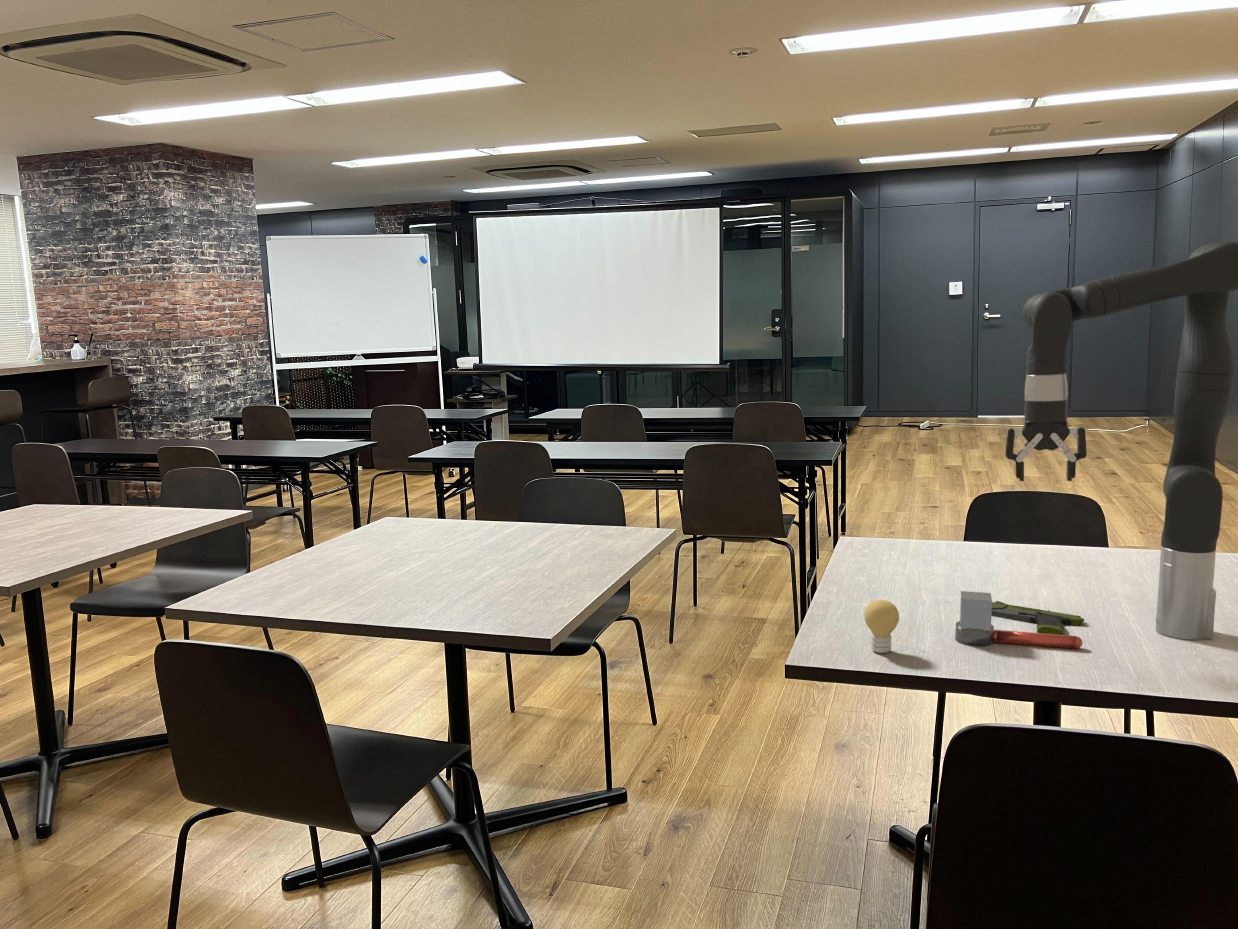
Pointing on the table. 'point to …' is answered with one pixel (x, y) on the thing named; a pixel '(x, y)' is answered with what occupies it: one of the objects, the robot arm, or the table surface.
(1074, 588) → the table surface
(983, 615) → the grey bevelled cube
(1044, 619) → the gun
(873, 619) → the light bulb
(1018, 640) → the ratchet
